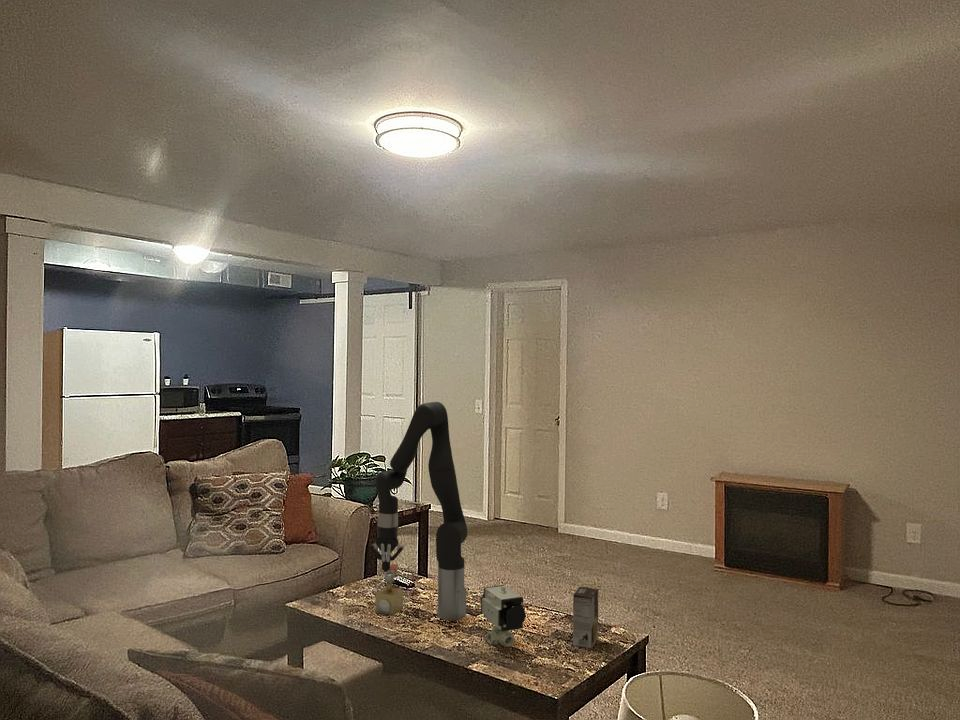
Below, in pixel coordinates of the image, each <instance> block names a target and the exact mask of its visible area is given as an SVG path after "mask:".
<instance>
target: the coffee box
mask: <svg viewBox="0 0 960 720" xmlns="http://www.w3.org/2000/svg"><path fill="white" fill-rule="evenodd" d="M572 596H573V598H572V599H573V600H572V601H573V605H572V607H573V609H572V610H573V611H572V613H573V615H572V645H573V646H577V647H582V648H588V649H592V648H593V647H594V645H595V643H596V642H597V640H598V639H599V589H598V588H592V587H587V586H586V587H585V586H579V587H578V589H577V590H576V591H575V592H574V593H573V595H572Z"/></svg>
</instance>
